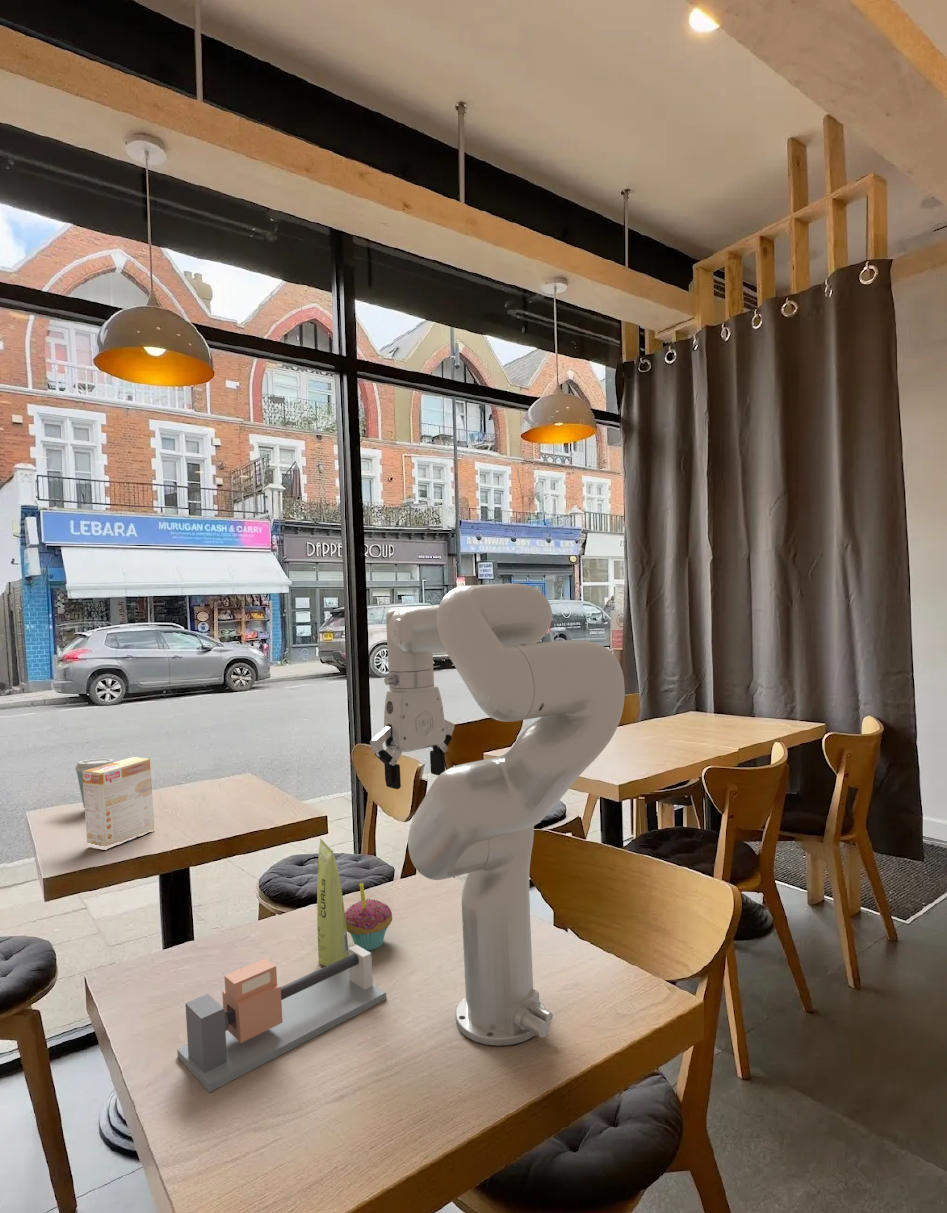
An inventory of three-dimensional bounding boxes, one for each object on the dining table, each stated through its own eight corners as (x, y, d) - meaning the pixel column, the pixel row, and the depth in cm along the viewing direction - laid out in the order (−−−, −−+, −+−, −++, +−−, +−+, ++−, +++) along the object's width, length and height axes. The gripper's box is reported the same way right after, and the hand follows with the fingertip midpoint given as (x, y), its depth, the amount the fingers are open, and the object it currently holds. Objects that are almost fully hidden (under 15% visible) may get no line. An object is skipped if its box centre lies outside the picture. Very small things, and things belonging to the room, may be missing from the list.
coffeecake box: (137, 828, 193) (132, 756, 193) (155, 831, 190) (151, 758, 190) (85, 848, 180) (80, 770, 179) (105, 851, 177) (100, 772, 176)
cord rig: (348, 975, 115) (346, 925, 115) (386, 999, 108) (383, 946, 107) (177, 1056, 96) (174, 997, 96) (209, 1092, 89) (205, 1029, 89)
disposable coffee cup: (93, 805, 218) (90, 755, 217) (126, 805, 216) (123, 755, 216) (69, 816, 207) (66, 764, 207) (104, 816, 206) (100, 764, 205)
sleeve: (265, 1008, 102) (262, 956, 102) (282, 1022, 99) (279, 968, 99) (224, 1027, 98) (221, 973, 98) (241, 1043, 95) (237, 986, 94)
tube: (309, 964, 119) (302, 847, 118) (326, 949, 123) (320, 836, 123) (338, 970, 117) (332, 850, 116) (355, 954, 121) (349, 839, 121)
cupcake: (384, 958, 120) (380, 886, 119) (335, 955, 121) (332, 884, 121) (399, 933, 128) (396, 866, 128) (353, 930, 130) (350, 864, 129)
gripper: (383, 688, 113) (388, 797, 114) (464, 675, 125) (468, 773, 125) (355, 685, 118) (361, 788, 119) (436, 672, 130) (440, 767, 131)
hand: (416, 781), depth 122 cm, fingers open, 9 cm apart
